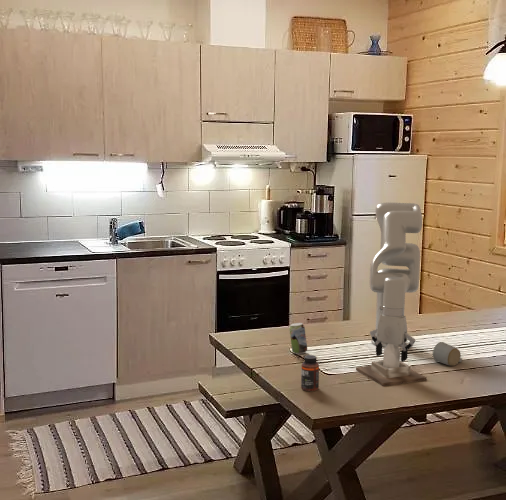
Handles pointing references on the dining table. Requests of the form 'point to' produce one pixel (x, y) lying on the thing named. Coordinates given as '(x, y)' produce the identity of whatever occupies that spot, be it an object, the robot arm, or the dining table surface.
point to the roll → (391, 356)
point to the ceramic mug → (446, 354)
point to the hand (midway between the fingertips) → (391, 358)
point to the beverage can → (298, 338)
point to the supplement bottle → (310, 374)
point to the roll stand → (390, 373)
